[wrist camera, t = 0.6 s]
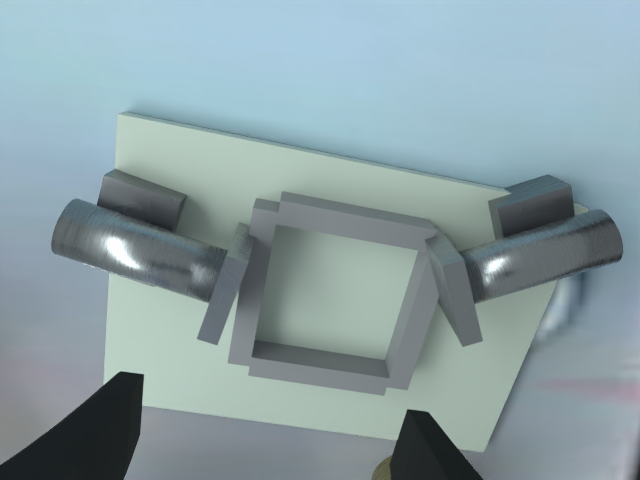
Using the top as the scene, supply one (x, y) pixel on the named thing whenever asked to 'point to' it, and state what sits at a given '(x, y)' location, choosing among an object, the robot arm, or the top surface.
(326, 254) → the bench plate
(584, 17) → the top surface
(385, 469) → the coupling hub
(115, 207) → the shaft
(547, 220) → the shaft
